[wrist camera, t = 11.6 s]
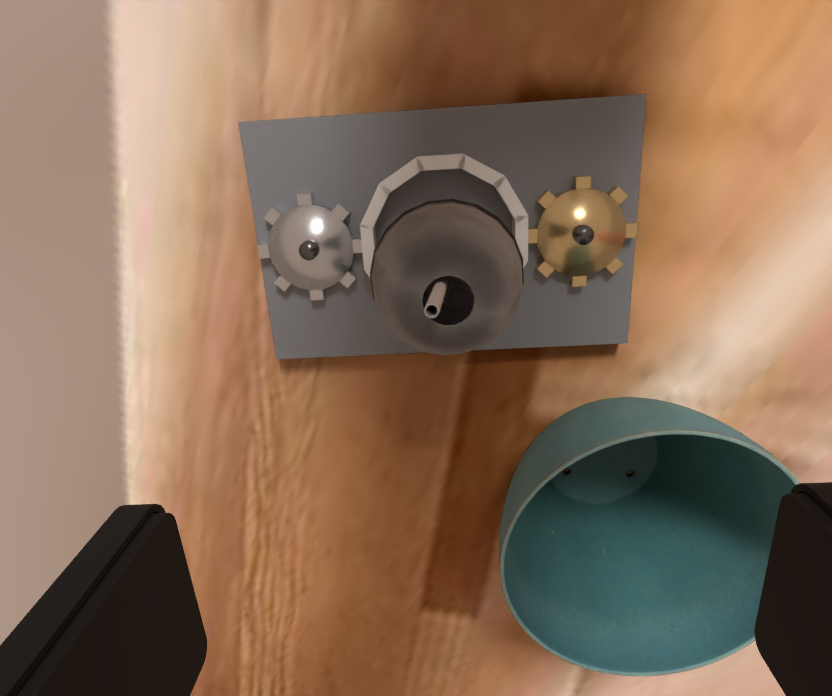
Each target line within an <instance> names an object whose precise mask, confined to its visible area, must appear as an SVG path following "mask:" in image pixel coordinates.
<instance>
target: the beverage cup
mask: <svg viewBox="0 0 832 696" xmlns="http://www.w3.org/2000/svg"><path fill="white" fill-rule="evenodd" d="M370 279H371V286H372V294H373V298H374V300H375V303H376V305H377V307H378V309H379V311H380V313H381V315H382V317H383V319H384V321H385V323H386V325H387V326H388V327H389V328H390V329H391V330H392V331H393V332H394V333H395V334H396V335H397V336H398V337H399V338H400V339H401V340H402V341H404V342H406V343H407V344H409V345H411V346H413V347H415V348H416V349H418V350H420V351H424V352H428V353H433V354H438V355H442V356H443V355H455V354H464V353H467V352H469V351H472V350H475V349H477V348H480V347H482V346H485V345H486V344H487V343H489V342H490V341H491V340H492V339H494V338H495V337H496V336H497V335H499V334H500V333H501V332H502V331H503V330H504V329H505V327H506V326H507V324H508V323H509V321H510V320H511V318H512V317H513V315H514V314H515V312H516V309H517V305H518V302H519V298H520V295H521V292H522V288H523V284H524V271H523V257H522V255H521V252H520V249H519V247H518V244H517V242H516V239H515V236H514V235H513V234H512V233H511V231H510V230H509V229H508V228H507V227H506V225H505V224H504V223H503V222H502V221H501V219H500V218H499V217H497V216H496V215H494V214H493V213H491V212H489V211H488V210H486V209H484V208H483V207H481V206H479V205H478V204H474V203H470V202H465V201H461V200H456V199H445V200H435V201H427V202H425V203H422V204H420V205H418V206H416V207H414V208H411V209H409V210H407V211H405V212H403V213H402V214H401V215H400V216H399V217H398V218H397V219H396V220H395V221H394V222H393V223H391V224H390V225H389V226H388V227H387V228H386V229H385V231H384V233H383V235H382V237H381V238H380V240H379V242H378V244H377V246H376V247H375V249H374V253H373V259H372V264H371V269H370Z"/></svg>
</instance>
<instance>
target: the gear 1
mask: <svg viewBox="0 0 832 696" xmlns="http://www.w3.org/2000/svg"><path fill="white" fill-rule="evenodd" d="M297 202H298V206H296V207H294V208H291V209H289V210H288V211H286V212H284V213H283V212H282V211H281V210H279V209H278V208H277V207H276V206H274V207H272V208H271V209H270V211H269V212H268V213H267V214H266V216H265V217H264V219H265V220H267V221H268V222H269V223H270V224H271V225H273V227H272V229H271V231H270V235H269V240H268V242H266V243H260V244H258V245H257V247H258V253H259V259H260V258H271V261H272V263H273V265H274V267H275V269H276V270H277V272H278V273H279V274H280V276H279V277H278V278H277V280H276V281H275V282H274V284H276V285H277V286H278V287H279V288H281V289H282V290H283V291H284V292H285V291H286V290H287V289H288V287H289V286H290V285H291V284H292V285H294V286H297V287H299V288H302V289H307V290H309V291H310V299H311V300H324V299H325V297H326V293H325V288H328V287H331V286H332V285H334V284H336V283H337V282H341V283H342V284H343V285H344V286H345V287H347V288H348V287H349V286H350V285H351V284H352V283H353V281H354V280H355V279H356V278H357V275H356V274H355V273H354V272H352V271H351V270H350V269H349V268H350V266H351V264H352V261H353V258H354V253H362V242H361V237H354V238H353V235H352V233H351V230H350V228H349V226H348V225H347V223H346V222H345V221H344V219H345V218H346V217H347V216H348V214H349V213H350V212H351V211H350V210H349V209H348V208H347V207H345V206H344V205H343V204H342V203H341V202H340V203H338V204H337V206H336V207H335V208H334V209H333V210H331V209H330V208H327V207H325V206H322V205H317V204H314V196H313V192H312V193H299V194H297Z"/></svg>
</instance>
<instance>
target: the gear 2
mask: <svg viewBox="0 0 832 696" xmlns="http://www.w3.org/2000/svg"><path fill="white" fill-rule="evenodd" d="M627 197H628V196H627V195H626V194H625V192H624V191H623V190H622V189H621V188H620V187H619V186H616V185H614V186H613V187H612V188H611V189H610V190H609V192H608V193H607V194H606V193H604V192H602V191H600V190H597V189H593V188H591V176H589V175H585V176H574V177H573V188H572V189H569V190H566V191H564V192H562V193H560V194H558V195H557V196H555V197H554V196H553V195H552V194H551V193H550V192H549V191H548V190H545V191H544V192H543V193H542V194H541V195H540V196H539V198H538V199H537V200H536V201H537V202H538V203H539V204H540V205H541V206H542V207H543V208H544V209H543V210H542V212H541V214H540V216H539V218H538V221H537V225H536V227H528V243H536V244H537V247H538V250H539V252H540V254H541V256H542V257H543V259H542V260H541V261H540V262H539V263H538V264H537V265H536V266H535V267H536V268H537V269H538V270H539V271H540V272H541V273H542V274H543V275H544V276H545V277H546V278H547V277H548V276H549V275H550V274H551V273H552V272H553V271H554V269H555V270H556V271H558V272H560V273H562V274H566V275H570V285H571V286H572V287H579V286H586V279H587V276H586V275H590V274H593V273H595V272H598V271H600V270H601V269H603V268H604V267H605V268H606V269H607V270H608V271H609V272H611V273H612V274H614V273H615V272H616V271H617V270H618V269H619V268H620V267H621V266H622V265H623V263H622V262H621V261H620V260H619V259H618V258H617V257H616V256H617V254H618V253H619V251H620V249H621V248H622V245H623V243H624V239H625V238H635V237H637V224H638V223H636V222H634V221H631V222H625V217H624V214H623V211H622V209H621V208H620V206H619V205H620V204H621V203H622V202H623V201H624V200H625V199H626V198H627Z"/></svg>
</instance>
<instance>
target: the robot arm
mask: <svg viewBox="0 0 832 696" xmlns="http://www.w3.org/2000/svg"><path fill="white" fill-rule="evenodd" d="M754 633H755V640H756V644H757V647H758V650H759V652H760V654H761V656H762V658H763V659H764V661H765V662H766V664H767V666H768V667H769V669H770V671H771V672H772V674H773V675H774V677H775V679H776V680H777V682H778V683H779V685H780V687H781V688H782V690H783V692H784V693H785V695H786V696H832V482H829V483H800V484H797V485H795V486H794V487H793V488H792V490H791V493H790V494H786V495H784V496H783V497H782V498H781V501H780V504H779V509H778V514H777V519H776V524H775V529H774V534H773V539H772V544H771V549H770V554H769V559H768V564H767V569H766V574H765V579H764V583H763V588H762V593H761V598H760V603H759V608H758V613H757V618H756V623H755V630H754ZM206 652H207V638H206V634H205V630H204V626H203V622H202V619H201V615H200V611H199V607H198V603H197V599H196V596H195V592H194V588H193V584H192V580H191V577H190V573H189V569H188V565H187V561H186V558H185V554H184V550H183V546H182V542H181V538H180V535H179V531H178V527H177V523H176V520H175V517H174V516H173V515H172V514H170V513H165V510H164V508H163V507H162V506H161V505H158V504H143V505H123V506H120V507H118V508H117V509H116V510H115V511H114V512H113V513H112V514H111V516H110V517H109V518H108V519H107V520H106V522H105V523H104V524H103V525H102V526H101V527H100V529H99V530H98V531H97V532H96V533H95V534H94V536H93V537H92V538H91V539H90V540H89V542H88V543H87V544H86V545H85V546H84V547H83V549H82V550H81V551H80V552H79V554H78V555H77V556H76V557H75V558H74V559H73V561H72V562H71V563H70V564H69V565H68V566H67V568H66V569H65V570H64V571H63V572H62V573H61V575H60V576H59V577H58V578H57V579H56V580H55V582H54V583H53V584H52V585H51V587H50V588H49V589H48V590H47V591H46V592H45V594H44V595H43V596H42V597H41V598H40V599H39V600H38V602H37V603H36V604H35V605H34V606H33V608H32V609H31V610H30V611H29V612H28V613H27V615H26V616H25V617H24V618H23V620H22V621H21V622H20V623H19V624H18V625H17V627H16V628H15V629H14V630H13V631H12V632H11V633H10V635H9V636H8V637H7V638H6V639H5V641H4V642H3V643H2V644H1V645H0V696H190V694H191V692H192V690H193V687H194V685H195V683H196V680H197V678H198V676H199V673H200V671H201V669H202V667H203V664H204V661H205V657H206Z"/></svg>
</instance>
